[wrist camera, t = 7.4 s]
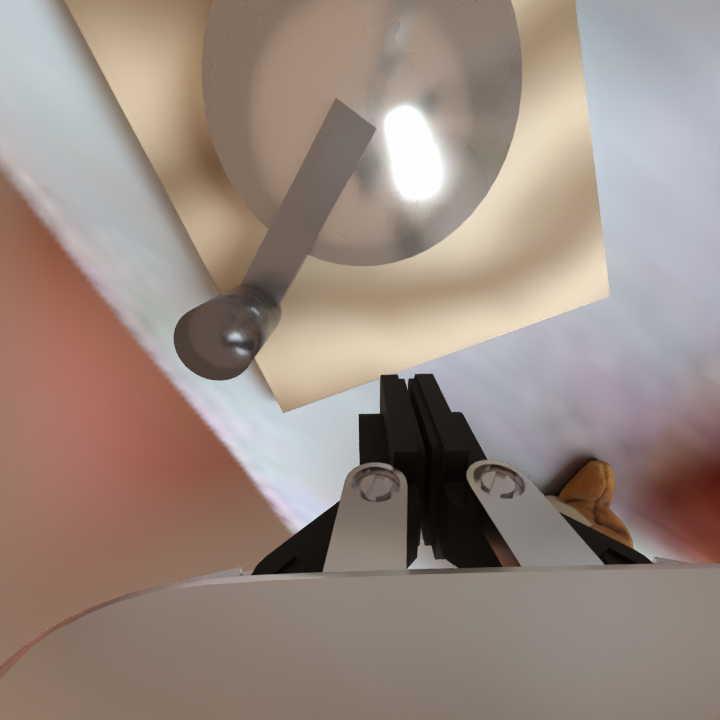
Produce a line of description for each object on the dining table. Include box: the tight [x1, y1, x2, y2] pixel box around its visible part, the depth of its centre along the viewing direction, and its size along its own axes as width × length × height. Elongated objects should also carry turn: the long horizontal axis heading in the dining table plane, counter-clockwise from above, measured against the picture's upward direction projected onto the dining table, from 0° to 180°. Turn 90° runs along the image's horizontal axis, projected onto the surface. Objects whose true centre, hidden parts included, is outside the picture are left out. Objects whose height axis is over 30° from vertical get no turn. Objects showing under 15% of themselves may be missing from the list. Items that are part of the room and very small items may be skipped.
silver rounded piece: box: [174, 0, 522, 380], centre depth 12 cm, size 19×12×7 cm, turn 148°
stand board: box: [64, 0, 610, 413], centre depth 16 cm, size 24×19×2 cm
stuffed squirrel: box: [545, 460, 633, 549], centre depth 21 cm, size 10×14×13 cm
